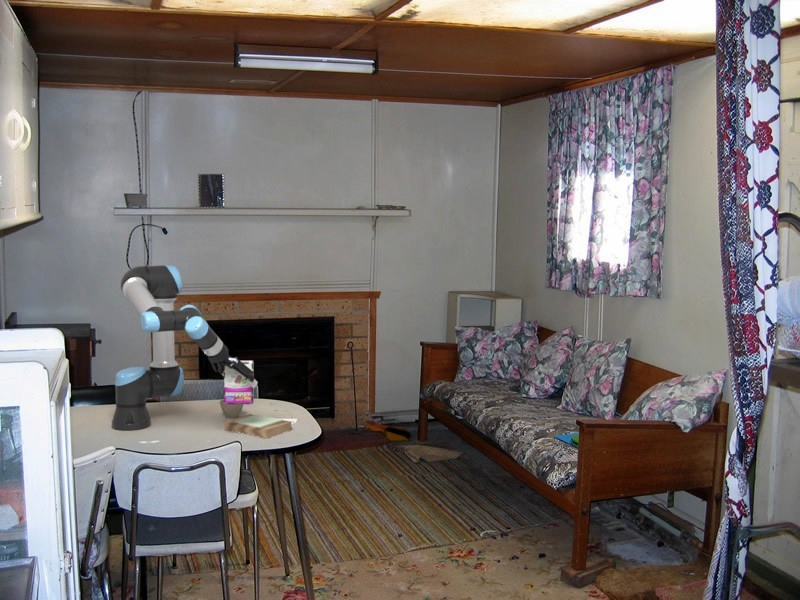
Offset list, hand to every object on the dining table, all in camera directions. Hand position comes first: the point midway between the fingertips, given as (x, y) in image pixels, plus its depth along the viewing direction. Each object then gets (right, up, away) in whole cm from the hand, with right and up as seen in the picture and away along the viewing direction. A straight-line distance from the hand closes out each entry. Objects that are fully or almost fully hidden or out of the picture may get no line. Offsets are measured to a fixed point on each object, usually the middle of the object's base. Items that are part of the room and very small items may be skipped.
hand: (243, 383), depth 329 cm
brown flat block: (+4, -20, +11) cm, 23 cm away
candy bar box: (-2, -8, -1) cm, 8 cm away
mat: (+4, -16, +11) cm, 20 cm away
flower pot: (-11, -18, +32) cm, 38 cm away
